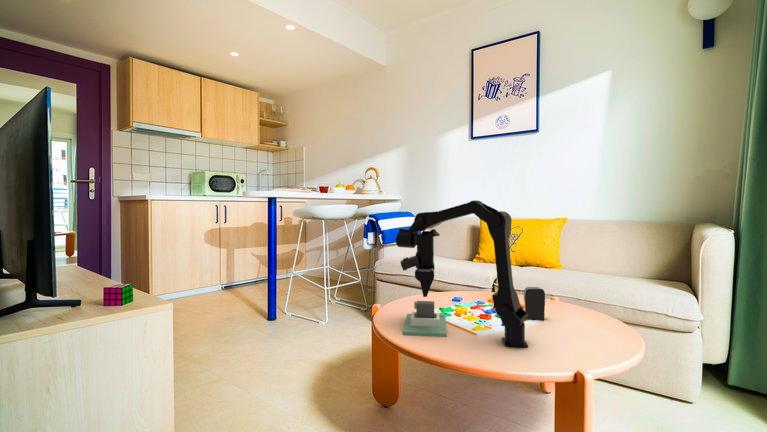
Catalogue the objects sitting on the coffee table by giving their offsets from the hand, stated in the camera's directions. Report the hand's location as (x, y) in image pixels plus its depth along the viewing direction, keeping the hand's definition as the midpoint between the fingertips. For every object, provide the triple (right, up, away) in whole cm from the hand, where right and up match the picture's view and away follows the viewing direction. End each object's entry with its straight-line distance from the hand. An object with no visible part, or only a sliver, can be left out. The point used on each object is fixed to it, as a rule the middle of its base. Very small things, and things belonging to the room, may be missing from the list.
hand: (425, 294), depth 127 cm
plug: (0, -10, 0) cm, 10 cm away
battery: (+41, -11, +8) cm, 43 cm away
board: (0, -11, 0) cm, 11 cm away
